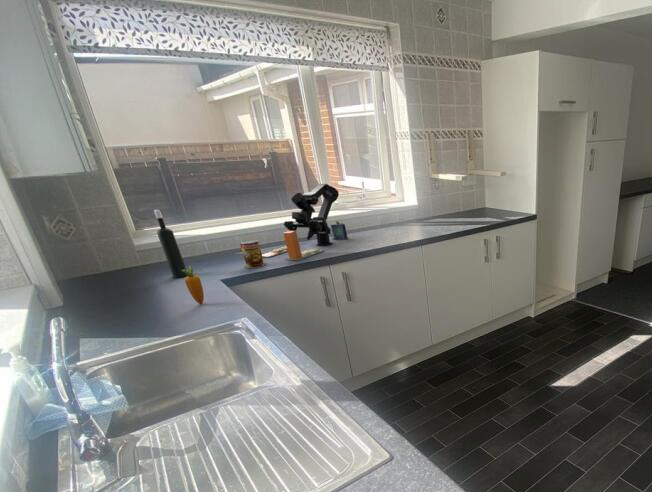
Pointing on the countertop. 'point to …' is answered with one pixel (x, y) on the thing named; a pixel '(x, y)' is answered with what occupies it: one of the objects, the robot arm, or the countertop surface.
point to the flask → (338, 231)
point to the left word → (275, 252)
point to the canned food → (252, 253)
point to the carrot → (194, 286)
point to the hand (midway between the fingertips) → (299, 239)
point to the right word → (306, 254)
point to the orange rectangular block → (292, 244)
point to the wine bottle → (170, 248)
